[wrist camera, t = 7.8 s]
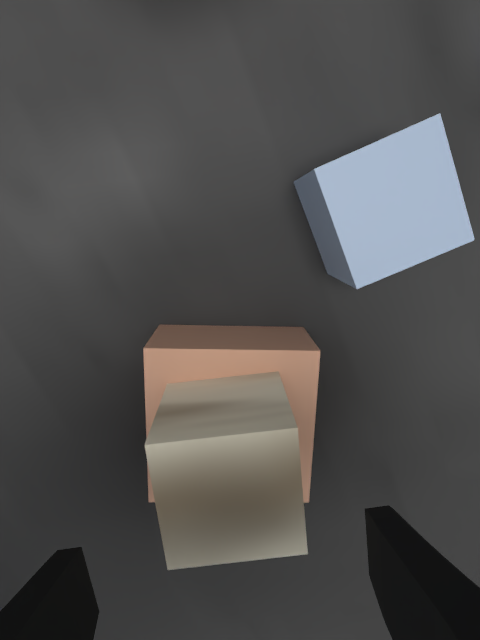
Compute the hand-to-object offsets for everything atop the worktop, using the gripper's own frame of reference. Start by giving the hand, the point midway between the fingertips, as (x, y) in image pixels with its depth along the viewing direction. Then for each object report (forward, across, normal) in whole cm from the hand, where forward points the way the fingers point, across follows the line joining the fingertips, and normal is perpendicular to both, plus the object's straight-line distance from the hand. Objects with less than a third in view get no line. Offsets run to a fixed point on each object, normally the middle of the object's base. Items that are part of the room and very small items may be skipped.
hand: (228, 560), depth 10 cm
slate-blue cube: (+10, -7, -8) cm, 15 cm away
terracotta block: (+11, 0, 0) cm, 11 cm away
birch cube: (+7, 0, 0) cm, 7 cm away
